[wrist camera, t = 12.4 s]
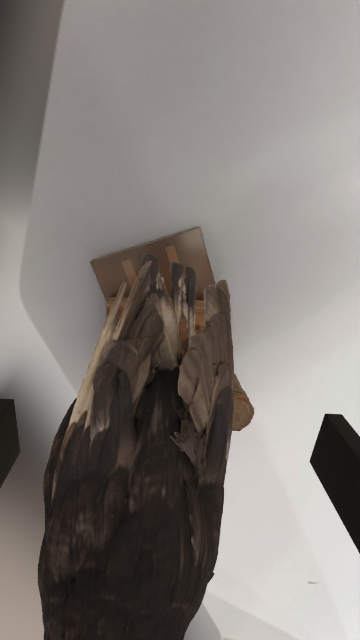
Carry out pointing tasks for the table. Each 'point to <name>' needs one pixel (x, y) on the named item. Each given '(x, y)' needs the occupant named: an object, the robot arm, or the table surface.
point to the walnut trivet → (168, 249)
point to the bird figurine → (142, 466)
